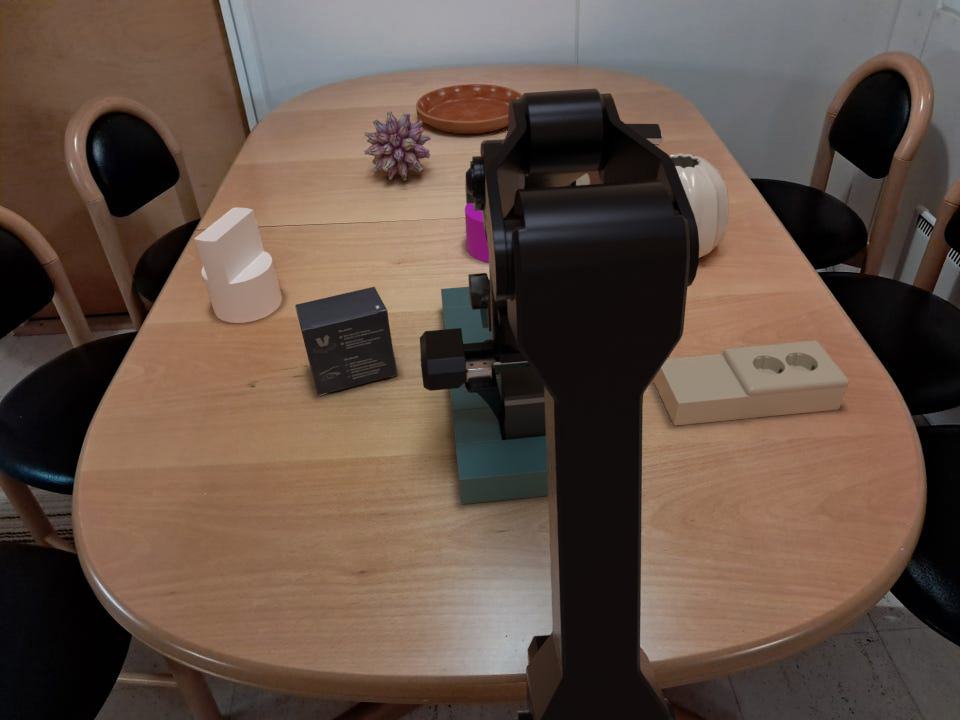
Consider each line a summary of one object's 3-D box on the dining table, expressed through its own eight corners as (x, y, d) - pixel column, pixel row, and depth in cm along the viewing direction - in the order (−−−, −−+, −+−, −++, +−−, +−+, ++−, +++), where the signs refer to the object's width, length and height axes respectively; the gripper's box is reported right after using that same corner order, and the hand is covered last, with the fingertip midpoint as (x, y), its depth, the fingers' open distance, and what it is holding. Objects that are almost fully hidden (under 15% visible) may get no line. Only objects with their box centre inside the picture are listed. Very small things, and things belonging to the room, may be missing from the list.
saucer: (547, 113, 147) (547, 96, 144) (476, 147, 134) (475, 128, 131) (467, 94, 159) (466, 77, 157) (395, 123, 146) (392, 105, 144)
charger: (546, 446, 68) (548, 393, 64) (505, 450, 68) (504, 397, 64) (540, 417, 72) (541, 365, 67) (500, 421, 71) (499, 369, 67)
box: (386, 350, 84) (376, 284, 79) (398, 377, 80) (388, 309, 74) (310, 369, 82) (293, 302, 76) (318, 397, 78) (301, 329, 72)
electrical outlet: (658, 353, 75) (818, 338, 76) (653, 381, 78) (808, 366, 79) (679, 396, 70) (851, 379, 71) (674, 425, 72) (840, 409, 73)
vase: (642, 219, 108) (652, 135, 100) (732, 239, 102) (750, 151, 94) (607, 259, 99) (615, 170, 91) (704, 283, 93) (722, 190, 85)
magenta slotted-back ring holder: (533, 263, 99) (533, 223, 95) (464, 263, 100) (462, 224, 96) (533, 211, 112) (533, 175, 108) (472, 212, 112) (470, 175, 108)
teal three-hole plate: (605, 489, 66) (608, 464, 64) (461, 504, 65) (459, 479, 63) (547, 302, 91) (547, 279, 89) (442, 311, 91) (440, 288, 88)
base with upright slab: (260, 327, 89) (236, 245, 82) (200, 317, 92) (171, 237, 84) (294, 290, 96) (274, 211, 88) (238, 282, 98) (214, 204, 91)
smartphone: (663, 138, 131) (583, 138, 132) (662, 144, 132) (583, 144, 133) (658, 123, 137) (582, 123, 138) (657, 129, 138) (581, 129, 139)
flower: (441, 178, 127) (412, 192, 117) (383, 167, 130) (350, 180, 120) (444, 112, 121) (414, 121, 112) (384, 103, 125) (349, 111, 115)
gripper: (608, 230, 66) (597, 359, 75) (411, 247, 65) (426, 375, 74) (641, 294, 57) (624, 430, 67) (414, 314, 56) (430, 449, 66)
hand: (523, 418), depth 69 cm, fingers closed on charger, 4 cm apart
